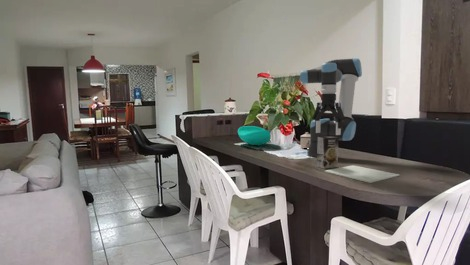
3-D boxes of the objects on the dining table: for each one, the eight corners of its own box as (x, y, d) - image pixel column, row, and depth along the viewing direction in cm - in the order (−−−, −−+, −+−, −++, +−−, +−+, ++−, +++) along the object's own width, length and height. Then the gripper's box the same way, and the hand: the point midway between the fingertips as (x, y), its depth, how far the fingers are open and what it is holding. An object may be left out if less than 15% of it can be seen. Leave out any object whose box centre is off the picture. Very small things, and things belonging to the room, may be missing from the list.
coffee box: (324, 168, 171) (324, 138, 169) (316, 166, 177) (317, 136, 175) (338, 167, 174) (338, 137, 173) (330, 165, 180) (331, 135, 179)
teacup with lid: (307, 150, 231) (307, 133, 230) (297, 148, 238) (297, 132, 237) (318, 148, 238) (318, 132, 237) (308, 146, 245) (308, 131, 244)
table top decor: (231, 143, 270) (230, 126, 268) (261, 140, 280) (261, 125, 279) (251, 150, 233) (251, 131, 232) (285, 147, 244) (285, 129, 242)
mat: (324, 171, 164) (324, 170, 164) (352, 166, 176) (352, 165, 176) (370, 182, 143) (370, 181, 143) (399, 175, 154) (399, 174, 154)
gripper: (306, 93, 180) (305, 132, 182) (343, 92, 159) (342, 136, 161) (315, 93, 184) (315, 131, 186) (353, 92, 163) (352, 135, 165)
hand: (327, 133), depth 173 cm, fingers open, 13 cm apart
